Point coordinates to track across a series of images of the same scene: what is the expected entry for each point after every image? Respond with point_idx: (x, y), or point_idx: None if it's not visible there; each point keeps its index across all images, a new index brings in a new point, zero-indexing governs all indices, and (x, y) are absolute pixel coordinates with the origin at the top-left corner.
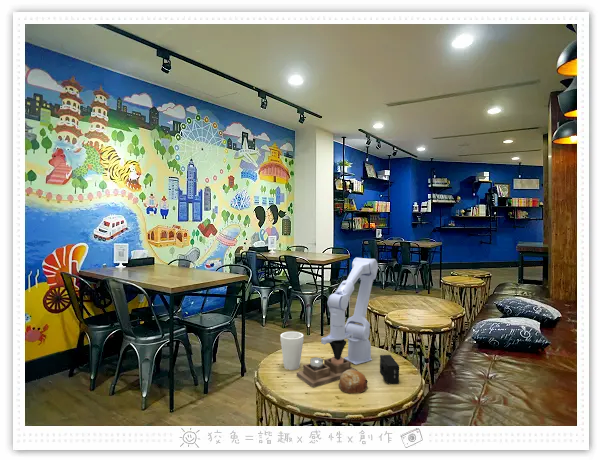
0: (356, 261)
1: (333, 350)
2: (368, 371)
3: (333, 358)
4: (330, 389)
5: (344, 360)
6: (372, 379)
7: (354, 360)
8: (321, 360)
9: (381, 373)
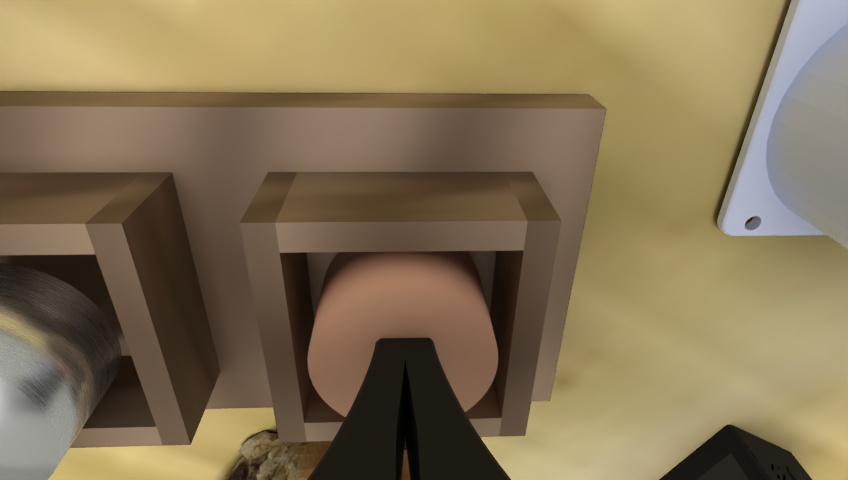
0: None
1: (349, 441)
2: (669, 377)
3: (360, 330)
4: (147, 453)
5: (506, 364)
6: (560, 473)
7: (781, 190)
8: (22, 469)
9: (694, 465)
